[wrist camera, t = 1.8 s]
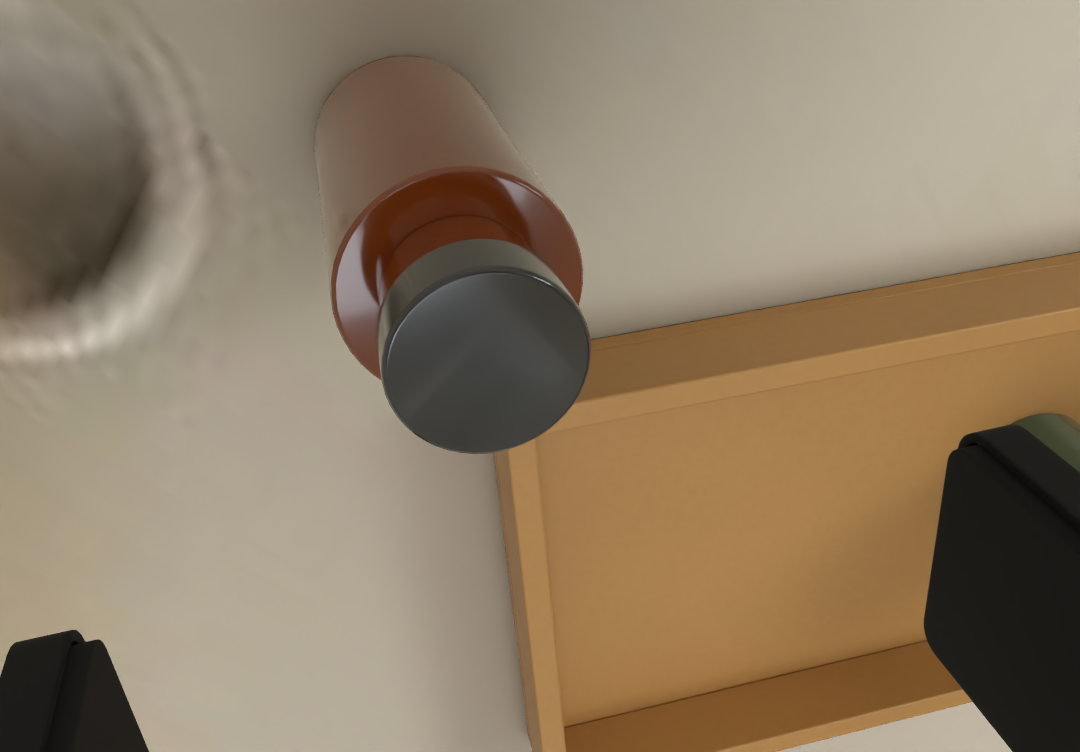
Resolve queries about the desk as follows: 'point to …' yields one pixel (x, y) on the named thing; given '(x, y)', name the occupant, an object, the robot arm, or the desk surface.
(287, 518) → the desk surface
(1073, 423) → the jar
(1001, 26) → the desk surface
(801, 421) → the tray
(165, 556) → the desk surface
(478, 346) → the spice bottle
